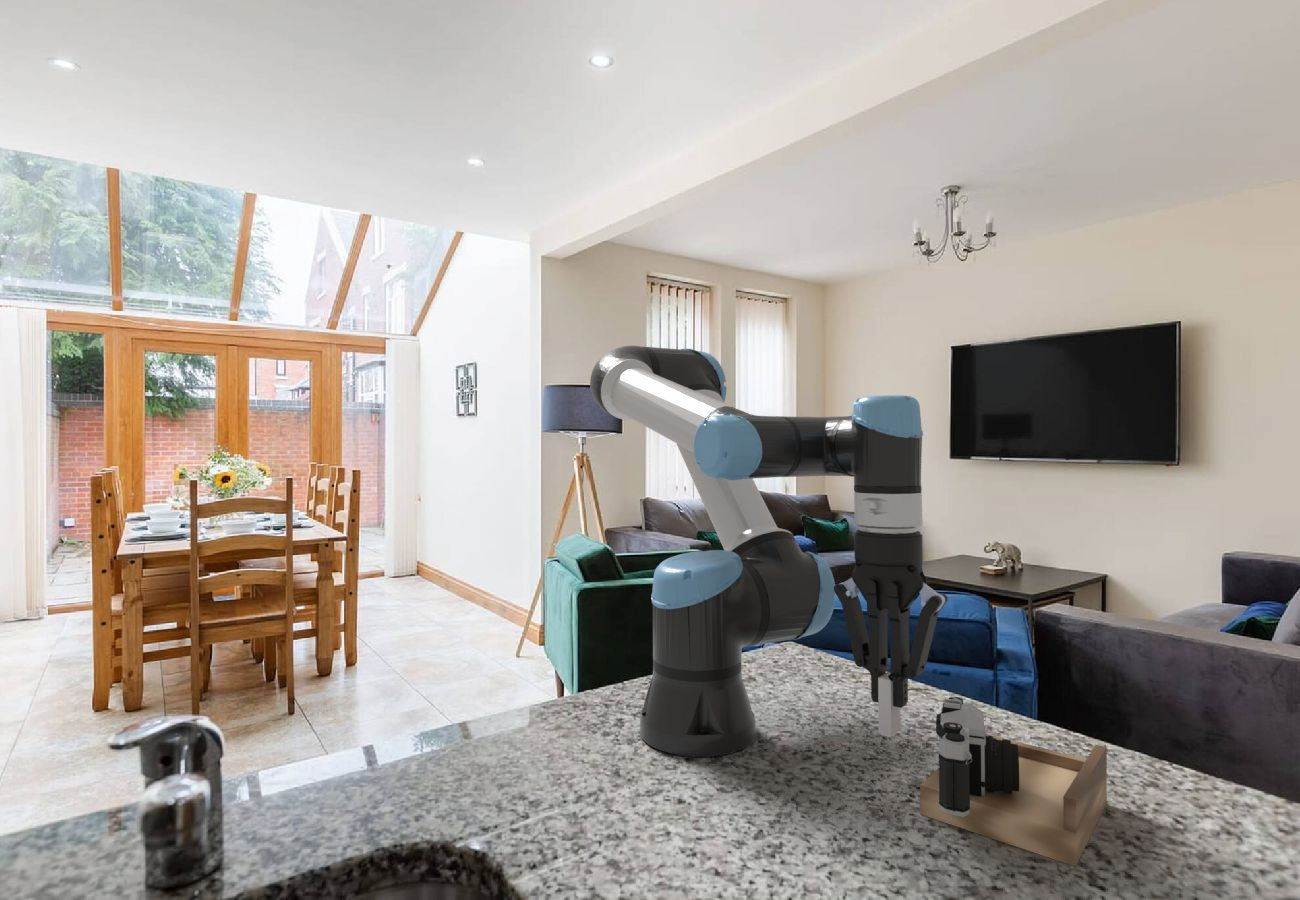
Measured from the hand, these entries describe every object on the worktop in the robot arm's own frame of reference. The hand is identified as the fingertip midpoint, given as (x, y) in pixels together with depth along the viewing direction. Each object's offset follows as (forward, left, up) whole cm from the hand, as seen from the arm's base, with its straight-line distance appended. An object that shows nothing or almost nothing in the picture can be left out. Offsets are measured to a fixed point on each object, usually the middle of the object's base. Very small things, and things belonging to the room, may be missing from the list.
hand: (889, 731), depth 84 cm
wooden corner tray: (+13, 0, -5) cm, 14 cm away
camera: (+11, -5, -2) cm, 12 cm away
